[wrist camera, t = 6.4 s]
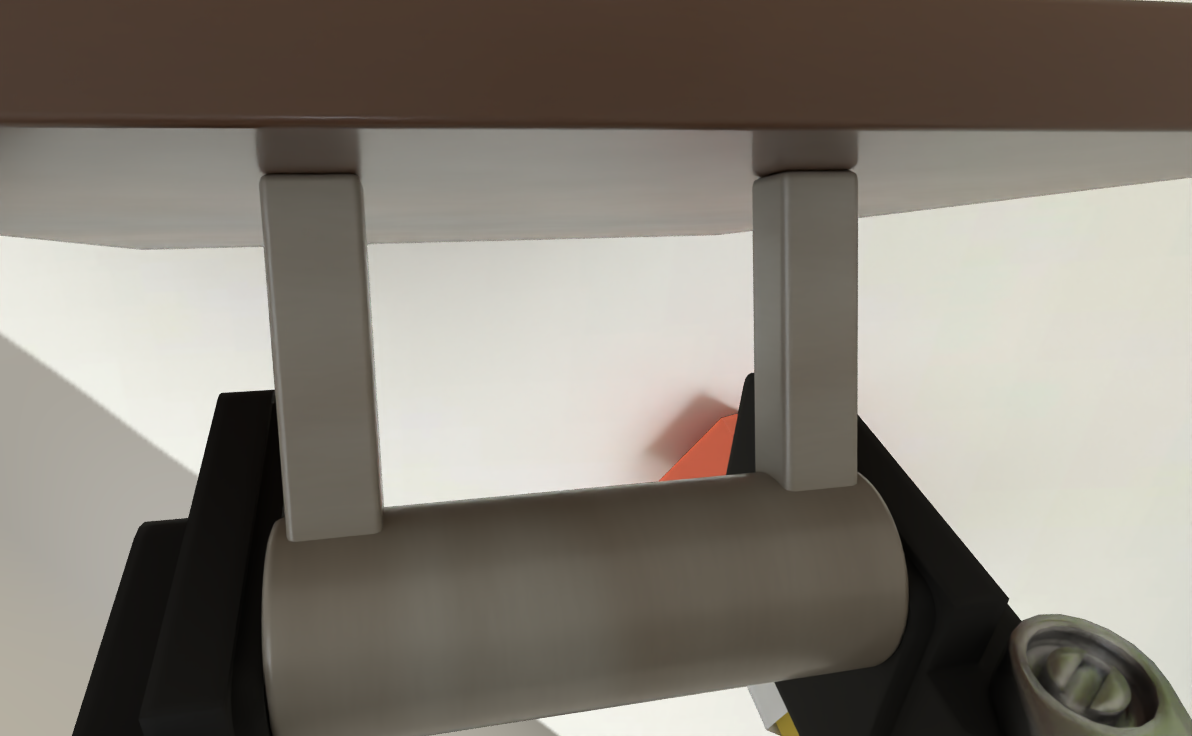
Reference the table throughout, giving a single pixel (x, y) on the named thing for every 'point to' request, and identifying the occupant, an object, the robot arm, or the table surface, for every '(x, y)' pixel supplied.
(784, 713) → the french fries container
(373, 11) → the lid
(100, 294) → the table surface
